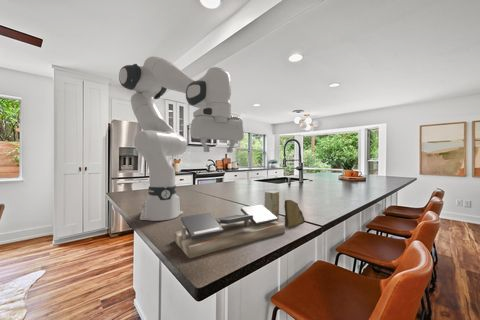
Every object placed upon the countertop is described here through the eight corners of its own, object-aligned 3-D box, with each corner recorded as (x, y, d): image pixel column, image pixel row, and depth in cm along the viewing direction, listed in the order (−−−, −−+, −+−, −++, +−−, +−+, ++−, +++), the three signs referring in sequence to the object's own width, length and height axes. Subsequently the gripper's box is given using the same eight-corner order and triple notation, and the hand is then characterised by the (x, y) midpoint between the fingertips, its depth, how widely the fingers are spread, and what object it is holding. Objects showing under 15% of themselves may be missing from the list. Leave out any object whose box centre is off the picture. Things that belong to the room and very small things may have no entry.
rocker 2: (240, 210, 78) (241, 207, 78) (260, 206, 84) (261, 204, 83) (255, 225, 70) (256, 222, 70) (277, 220, 76) (277, 218, 76)
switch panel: (174, 241, 66) (174, 221, 66) (260, 222, 86) (260, 206, 86) (189, 258, 55) (189, 234, 55) (284, 232, 75) (284, 214, 75)
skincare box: (272, 221, 88) (272, 193, 87) (263, 219, 90) (264, 192, 90) (279, 218, 93) (279, 191, 93) (271, 216, 95) (271, 190, 95)
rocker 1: (180, 220, 65) (181, 216, 65) (209, 215, 71) (210, 212, 71) (191, 239, 58) (192, 236, 57) (222, 232, 63) (223, 229, 63)
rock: (300, 213, 92) (279, 210, 91) (308, 200, 87) (285, 197, 86) (307, 234, 84) (283, 232, 83) (315, 222, 79) (290, 219, 78)
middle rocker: (213, 222, 72) (213, 218, 72) (237, 218, 77) (237, 214, 77) (227, 224, 64) (227, 219, 64) (253, 219, 69) (252, 215, 69)
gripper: (237, 118, 82) (237, 153, 82) (188, 112, 71) (188, 151, 71) (247, 116, 77) (247, 152, 77) (195, 108, 66) (195, 151, 66)
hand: (218, 152), depth 74 cm, fingers open, 8 cm apart
